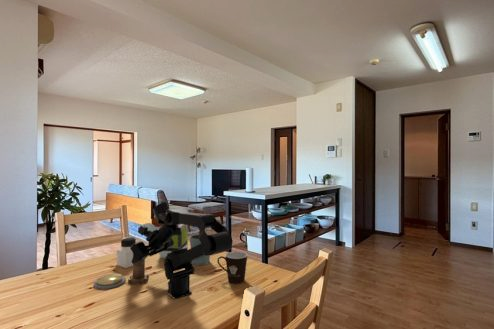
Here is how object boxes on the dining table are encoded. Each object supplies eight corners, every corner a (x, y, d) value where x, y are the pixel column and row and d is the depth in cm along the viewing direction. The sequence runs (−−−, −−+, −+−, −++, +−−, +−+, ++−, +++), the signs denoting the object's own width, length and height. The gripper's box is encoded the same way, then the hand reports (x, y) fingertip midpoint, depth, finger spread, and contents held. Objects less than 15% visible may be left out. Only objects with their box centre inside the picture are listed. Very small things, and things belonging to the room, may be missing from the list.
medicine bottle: (140, 263, 127) (140, 237, 127) (125, 268, 121) (126, 241, 121) (130, 260, 131) (130, 235, 131) (116, 265, 125) (116, 238, 125)
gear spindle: (144, 275, 113) (145, 246, 113) (151, 281, 108) (152, 250, 108) (125, 280, 108) (125, 249, 108) (131, 286, 103) (132, 254, 103)
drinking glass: (185, 262, 128) (185, 236, 129) (199, 256, 137) (199, 232, 137) (201, 267, 123) (202, 240, 123) (215, 260, 132) (216, 235, 132)
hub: (118, 274, 112) (118, 271, 112) (126, 281, 105) (126, 278, 105) (94, 280, 106) (94, 277, 106) (100, 288, 99) (100, 285, 99)
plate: (120, 275, 114) (120, 273, 114) (129, 283, 105) (129, 281, 105) (90, 282, 106) (90, 280, 106) (97, 292, 98) (97, 289, 98)
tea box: (170, 249, 150) (170, 221, 150) (188, 249, 149) (188, 222, 149) (158, 258, 135) (158, 227, 135) (178, 259, 134) (178, 228, 134)
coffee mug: (251, 280, 109) (251, 254, 109) (236, 287, 103) (236, 260, 103) (231, 272, 117) (231, 248, 117) (215, 278, 111) (215, 253, 111)
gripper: (168, 213, 115) (146, 237, 119) (134, 221, 97) (110, 249, 101) (183, 234, 112) (161, 258, 116) (152, 246, 95) (127, 274, 99)
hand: (141, 259), depth 108 cm, fingers open, 9 cm apart
